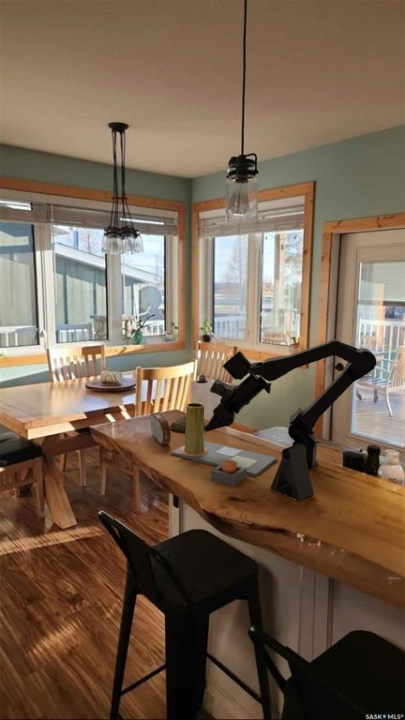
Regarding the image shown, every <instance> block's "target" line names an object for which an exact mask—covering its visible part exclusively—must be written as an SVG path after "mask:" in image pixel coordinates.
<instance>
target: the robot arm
mask: <svg viewBox="0 0 405 720" xmlns="http://www.w3.org/2000/svg"><path fill="white" fill-rule="evenodd" d="M333 356H335V357H338V358H340V359H341V360H344V361H345V362H346V364H345V366H344V367H343V369H342V371H341V372H340V373H339V374H338V375H337V376H336V378H335V379H334V380H333V381H332V382H331V383H330V384H329V385H328V386H327V387H326V388H325V389H324V390H323V391H322V392H321V393H320V394H319V396H318V397H317V398H316V399H315V400H314V401H313V402H312V403H311V404H309V406H308V407H306V408H304V409H302V408H301V407H298V408H297V409H296V411H295V412H294V413H293V414H292V415H290V416H289V422H288V426H287V427H288V429H287V433H288V436H289V438H291V439H292V440H293V442H292V444H291V446H294V445H297V444H301V445H303V444H304V445H305V447H306V460H307V465H308V469H309V470H312V469H313V468H314V467H315V466H316V465H317V464H318V463H319V462H318V460H317V451H318V450H317V448H318V444H317V440H316V432H315V431H314V430H313V429H314V428H315V426H316V424H317V422H318V421H319V418H320V417H322V415H323V414H325V412H326V411H327V410H328V409H329V408H330V407H331V406H332V405H333V404H334V403H335V402H336V401H337V400H338V399H339V398H340V396H342V395H343V394H344V393H345V392H346V391H347V389H349V387H351V385H353V383H355V382H357V381H359V380H360V379H362V378H364V377H365V376H366V375H368V374H369V373H370V372H372V371H373V370H374V369H375V368H376V366H377V358H376V356H375V354H374V353H373V352H372V351H371V350H369V349H368V348H364V347H362V348H361V347H360V348H357V347H354V345H353V346H352V345H350V344H347V343H345V342H342V341H340V340H339V339H336V338H333V339H330V340H329V341H326V342H323V343H321V344H318V345H315V346H312V347H309V348H306V349H304V350H301V351H298V352H295V353H292V354H288V355H280V356H273V357H269V358H266V359H264V360H263V361H260V362H258V361H257V362H256V361H255V362H252V363H251V362H250V361H249V359H248V358H246V356H245V355H244V352H242V351H241V350H238V351H237V352H236V353H235V354H234V355H233V356H231V357H229V359H227V360H226V362H224V363H223V365H221V366H222V368H223V369H224V370H225V371H226V372H227V373H228V374H229V375H230V376H231V377H232V379H234V380H235V381H236V380H237V381H241V382H240V383H239V384H236V385H234V387H233V386H231V385H230V384H228V383H227V382H224V381H222V380H220V379H217V378H215V379H214V381H213V382H212V385H211V387H210V388H209V392H211V393H212V394H216V395H218V396H219V397H221V398H220V399H219V400H220V401H219V402H220V403H218V404H217V405H216V406H215V407H214V408H213V411H212V413H213V414H212V416H211V418H210V420H209V421H208V423H207V424H206V425H205V426H206V427H205V429H204V431H205V432H206V433H207V432H211V431H214V430H216V429H217V430H218V429H221V428H224V427H230V426H232V425H233V423H234V422H235V420H236V415H239V413H240V411H241V410H242V409H244V408H245V406H248V405H249V404H250V403H251V401H252V400H253V399H255V397H257V396H258V395H259V394H260V393H262V391H265V392H266V393H267V394H270V393H271V391H272V390H271V388H272V385H273V384H272V382H275V381H277V380H279V378H282V377H283V376H286V375H287V374H288V373H290V372H292V371H294V370H296V369H298V368H300V367H303V366H306V365H309V364H312V363H316V362H318V361H320V360H323V359H327V358H329V357H333ZM248 374H249V375H248ZM246 376H247V377H246ZM245 377H246V378H245ZM244 378H245V379H244ZM243 379H244V380H243ZM299 446H300V445H299Z"/></svg>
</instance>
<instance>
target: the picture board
mask: <svg viewBox="0 0 405 720" xmlns="http://www.w3.org/2000/svg"><path fill="white" fill-rule="evenodd" d="M184 449H185V444H183V445H182V446H180V447H178V448H176V449H174V450H172V451H171V452H170V454H171V455H174V456H176V457H179V458H184V459H188V460H191V461H196V462H199V463H203V464H206V465H210V466H215V467H217V466H219V465H221V464H222V461H224V460H233V461H235V462H237V466H241V467H245V468H247V475H248V476H253V477H257V476H259V475H260V474H261V473H263V472H264V471H265V470H266V469H268V468H269V467H270V466H271V465H273V464H274V463H275V462H277V461H278V458H277V457H275V456H272V455H271V456H270V455H267V454H262V453H259V452H253V451H249V450H245V449H242V448H236V447H231V446H228V445H223V444H220V443H217V442H216V443H215V442H211V441H207V440H204V452H202V453H200V454H190V453H187V452H185V451H184Z"/></svg>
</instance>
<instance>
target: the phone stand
mask: <svg viewBox="0 0 405 720" xmlns="http://www.w3.org/2000/svg"><path fill="white" fill-rule="evenodd" d="M299 445H300V446H299ZM272 480H273V481H272V483H271V485H270V487H269V488H270V490H271V491H274V492H276V491H277V492H276V493H278V492H279V493H278V494H280V493H281V494H280V495H283V496H285V495H286V496H285V497H287V496H288V497H287V498H289V497H291V498H293V499H292V500H294V499H296V500H298V501H297V502H301V501H302V499H303V500H305V499H307V498H309V497H311V496H313V495H314V494H315V492H314V487H313V483H312V478H311V474H310V469H308V465H307V460H306V447H305V445H304V444H303V445H301V444H297V445H294V446H292V445H291V446H288V447H285V448H283V449H282V451H281V460H280V462H279V465H278V468H277V470H276V472H275V476H274V477H273V479H272ZM308 496H309V497H308ZM306 497H307V498H306ZM291 498H290V499H291ZM304 498H305V499H304ZM296 500H295V501H296Z"/></svg>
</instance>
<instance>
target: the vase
mask: <svg viewBox="0 0 405 720" xmlns="http://www.w3.org/2000/svg"><path fill="white" fill-rule="evenodd" d="M185 409H186V411H185V412H186V414H185V415H186V432H184V434H185V435H184V445H185V449H184V451H185V452H187V453H190V454H200V453H202V452H204V441H205V435H204V434H205V432H204V431H205V430H204V429H203V428H204V422H205V405H204V403H200V402H188V403H187V404H186V407H185Z"/></svg>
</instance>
